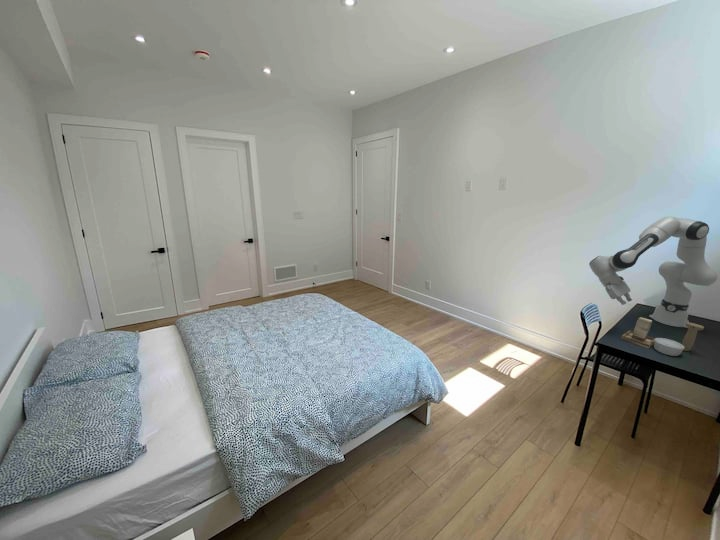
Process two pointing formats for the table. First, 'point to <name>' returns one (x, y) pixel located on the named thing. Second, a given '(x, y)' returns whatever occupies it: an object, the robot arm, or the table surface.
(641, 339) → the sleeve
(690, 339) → the handle
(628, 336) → the wooden tray
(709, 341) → the table surface
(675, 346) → the ramekin
